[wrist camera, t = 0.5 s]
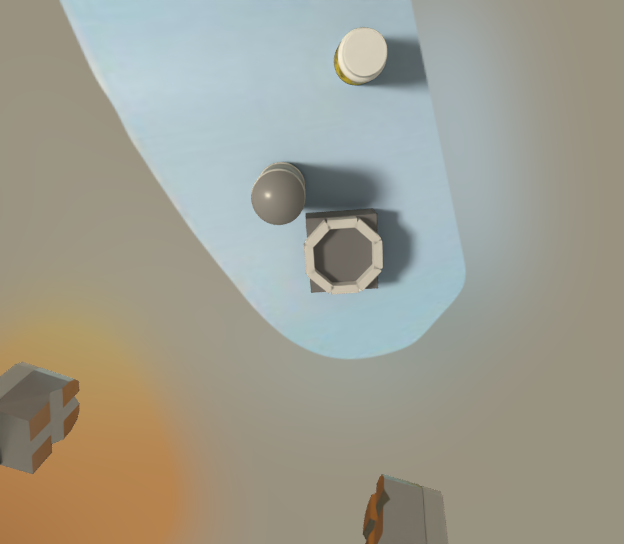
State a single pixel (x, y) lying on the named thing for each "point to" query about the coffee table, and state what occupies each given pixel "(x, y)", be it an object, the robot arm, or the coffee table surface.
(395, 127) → the coffee table surface
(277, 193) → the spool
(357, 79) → the supplement bottle
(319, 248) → the octagonal ring tray
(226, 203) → the coffee table surface
